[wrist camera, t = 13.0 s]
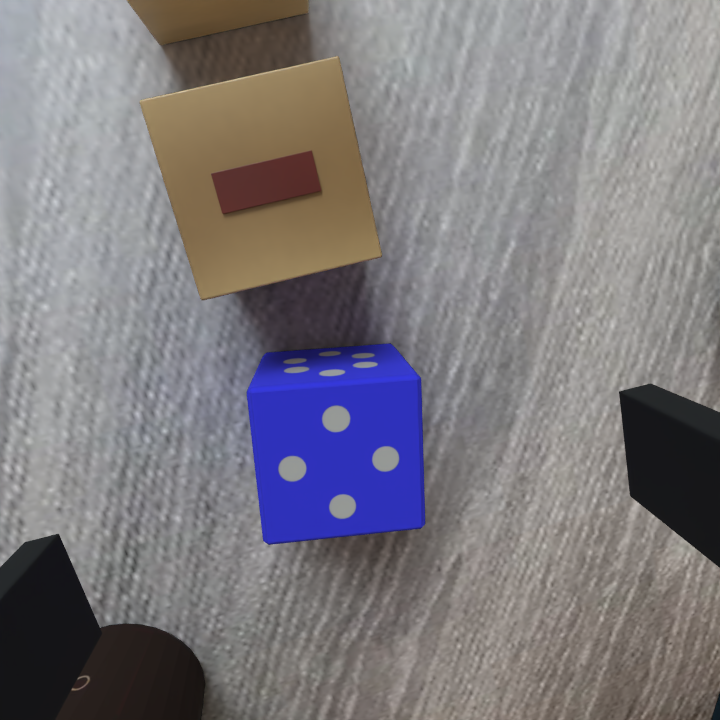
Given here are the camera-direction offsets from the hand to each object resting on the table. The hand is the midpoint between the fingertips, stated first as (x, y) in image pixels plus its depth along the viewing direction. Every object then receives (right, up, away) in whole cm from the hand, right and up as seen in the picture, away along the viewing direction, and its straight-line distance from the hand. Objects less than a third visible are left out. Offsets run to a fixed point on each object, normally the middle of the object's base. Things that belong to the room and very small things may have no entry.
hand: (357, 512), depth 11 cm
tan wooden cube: (-3, +9, +6) cm, 11 cm away
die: (-1, +2, +8) cm, 8 cm away
